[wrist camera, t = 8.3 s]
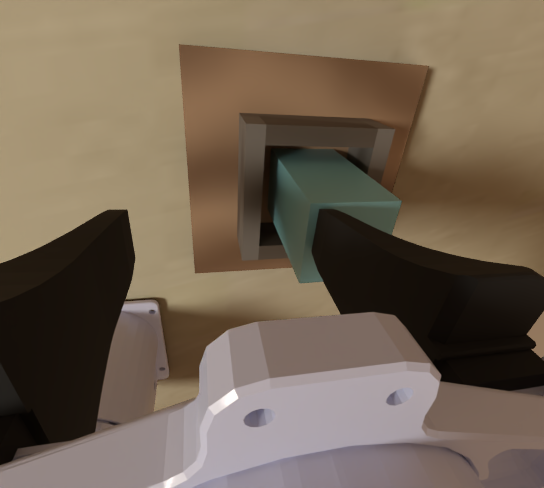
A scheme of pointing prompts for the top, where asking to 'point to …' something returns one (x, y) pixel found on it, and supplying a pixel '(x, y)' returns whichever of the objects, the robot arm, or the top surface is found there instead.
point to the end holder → (280, 137)
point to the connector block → (321, 200)
